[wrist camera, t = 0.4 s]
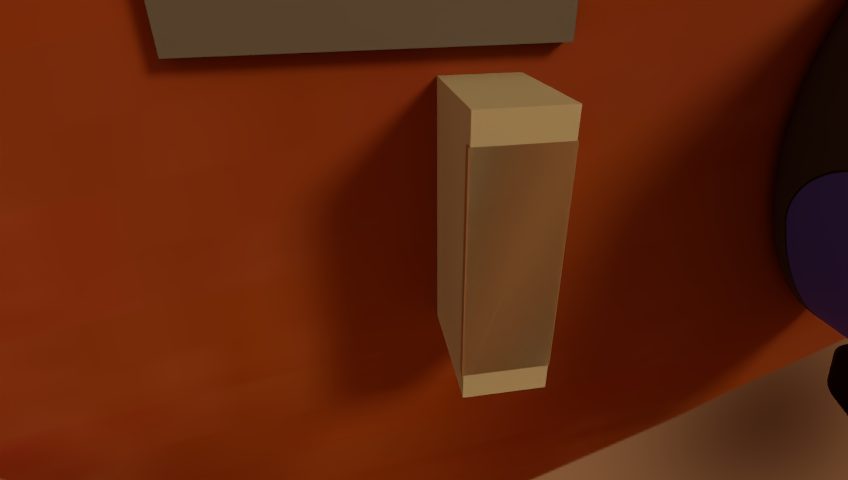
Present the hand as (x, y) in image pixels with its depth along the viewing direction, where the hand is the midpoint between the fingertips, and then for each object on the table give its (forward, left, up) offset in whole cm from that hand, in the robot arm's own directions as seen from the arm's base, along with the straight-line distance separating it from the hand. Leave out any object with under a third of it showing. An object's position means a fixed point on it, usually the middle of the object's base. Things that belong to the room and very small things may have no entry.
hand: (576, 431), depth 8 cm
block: (-1, +1, -12) cm, 12 cm away
